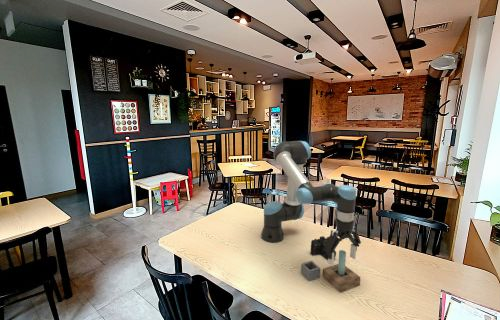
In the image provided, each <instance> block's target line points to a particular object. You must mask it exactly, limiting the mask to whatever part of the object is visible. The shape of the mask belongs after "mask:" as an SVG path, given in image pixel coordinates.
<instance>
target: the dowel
mask: <svg viewBox="0 0 500 320" xmlns="http://www.w3.org/2000/svg"><path fill="white" fill-rule="evenodd" d="M346 257H347V251H346V250H344V249H343V250H342V249H341V250H339V251H338V263H337V264H338V275H339V276H340V277H343V276H344V273H345V266H346V260H347V258H346Z"/></svg>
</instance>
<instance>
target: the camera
mask: <svg viewBox="0 0 500 320" xmlns="http://www.w3.org/2000/svg"><path fill="white" fill-rule="evenodd" d="M329 237H330V235H329V236H327V237H325V236H324V235H321V236H319V238H314V239H312V240H311V242H310V243H311V244H310V255H311V256H317V255H321V256H324V257H325V258H326V259H327V260H328V252H326V251H325V250H324V248H325V246H326V244H327V242H328V239H329ZM333 252H334V259H335V258H336V257H337V252H336V249H335V250H334V251H333Z"/></svg>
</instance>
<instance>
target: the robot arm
mask: <svg viewBox="0 0 500 320" xmlns="http://www.w3.org/2000/svg"><path fill="white" fill-rule="evenodd" d="M311 155H312V151H311V146H310V144H309V143H308V142H307V141H305V140H304V141H303V140H293V141H282V142H279V143H278V144H277V145H276V146H275V148H274V150H273V160H274V161H275V163H276V164H277V165H278V166H280V167H281V168H282V170H283V172H284V173H285V175H286V176H287V185H286V186H287V187H286V196H285V198H284V199H283V203H282V202H280V201H278V200H277V201H275V200H274V201H273V200H272V201H270V202H267V203H266V204H265V205H264V207H263V208H264V209H263V227H262V230H261V232H260V233H261V234H260V235H261V236H260V237H261V239H262V240H263V241H265V242H266V243H279V242H282V241H283V240H284V238H285V235H284V234H285V233H284V229H283V227H282V224H283V223H282V222H289V221H296V220H300V219H302V218H303V216H304V213H305V208H304V207H305V206H304V205H305V204H306V205H307V204H308V205H309V204H316V203H323V202H334V203H335V204H336V219H335V227H336V229H335V230H331V231H330V235H329V236H330V237H329V236H328V237H329V239H328V242H327V244H326V246H325V248H324V250H325V251H326V252H328V259H327V263H328V265H330V266H333V265H335V264H334V262H335V258H334V252H333V251H334V250H335V251H336V248H337V247H338V245H339V243H340V242H342V241H343V240H344V239H349V241H350V242H351V244H350V251H349V258H352V259H353V260H356V257H357V250H358V247H360V245H361V243H362V241H361V239H360V236H359V232H358V227H356V226H354V225H355V224H354V223H355V222H354V219H355V207H356V200H357V189H356V188H355V187H354V186H352V185H348V184H341V185H339V186H337V185H335V184H333V183H330V182H325V183H323V184H322V185H320V186H319V185H317V186H313V184H312V183H311V182H310V180H309V179H308V177H306V175H305V174H304V172H303V169H304V165H306V164H307V161H308V160H309V159H311Z"/></svg>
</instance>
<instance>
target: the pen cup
mask: <svg viewBox="0 0 500 320" xmlns="http://www.w3.org/2000/svg"><path fill="white" fill-rule="evenodd" d="M300 274H301V275H302V276H303V277H304V278H305V279H306V280H307V281H308V282H311V281H314V280H317V279H320V278H321V267H320V266H319V265H318V264H316V263H315V262H314V261H313V260H309V261H306V262H304V263H301V264H300Z"/></svg>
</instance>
